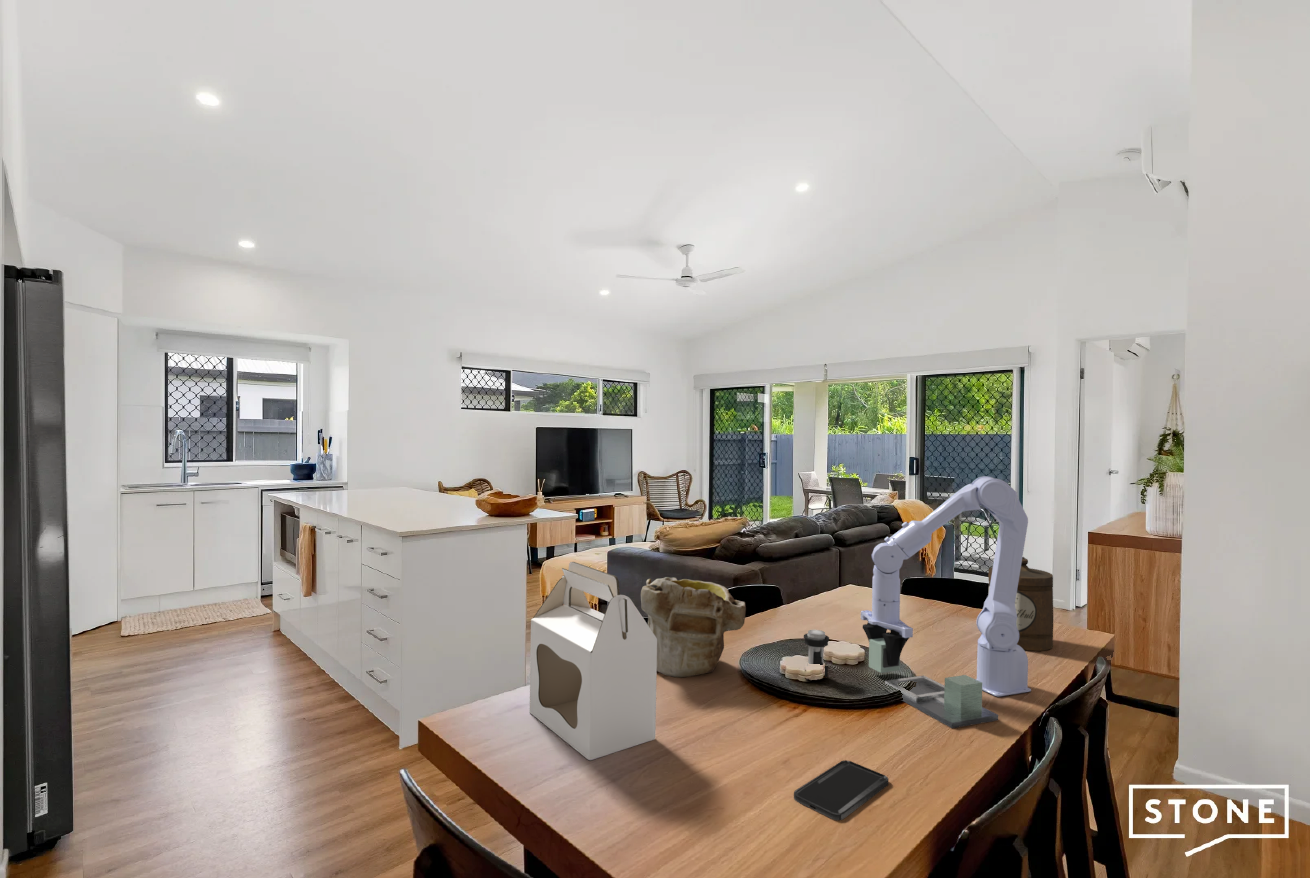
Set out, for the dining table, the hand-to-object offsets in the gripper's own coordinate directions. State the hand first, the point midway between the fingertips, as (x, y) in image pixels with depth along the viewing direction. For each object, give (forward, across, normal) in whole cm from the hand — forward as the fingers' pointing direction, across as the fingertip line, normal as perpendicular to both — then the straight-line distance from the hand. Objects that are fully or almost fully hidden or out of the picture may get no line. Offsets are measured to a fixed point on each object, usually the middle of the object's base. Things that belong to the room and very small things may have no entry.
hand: (884, 661), depth 143 cm
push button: (+3, -3, -16) cm, 17 cm away
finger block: (+2, 0, 0) cm, 2 cm away
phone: (+4, +36, -37) cm, 52 cm away
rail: (+3, +15, 0) cm, 15 cm away
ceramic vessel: (+3, -17, -38) cm, 42 cm away
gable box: (+3, +4, -67) cm, 67 cm away
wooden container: (+4, -9, +50) cm, 51 cm away
